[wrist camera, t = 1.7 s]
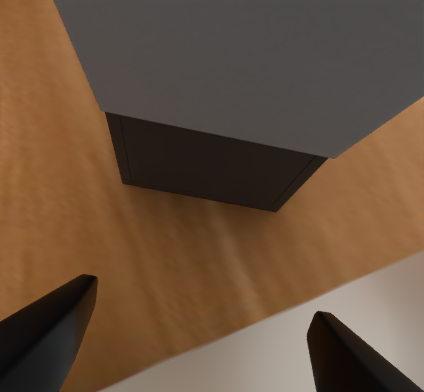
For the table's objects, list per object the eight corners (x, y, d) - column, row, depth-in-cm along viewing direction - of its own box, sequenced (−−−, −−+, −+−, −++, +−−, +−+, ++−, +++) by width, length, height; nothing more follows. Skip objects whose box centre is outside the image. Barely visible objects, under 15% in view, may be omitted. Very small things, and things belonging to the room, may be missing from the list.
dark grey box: (158, 60, 30) (157, -39, 22) (282, 88, 31) (324, 3, 23) (122, 183, 24) (103, 110, 16) (276, 212, 25) (330, 156, 17)
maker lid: (-342, -1084, 2) (-428, -1110, 2) (1064, -420, 3) (1110, -382, 3) (104, 97, 16) (100, 111, 16) (335, 145, 17) (334, 159, 17)
